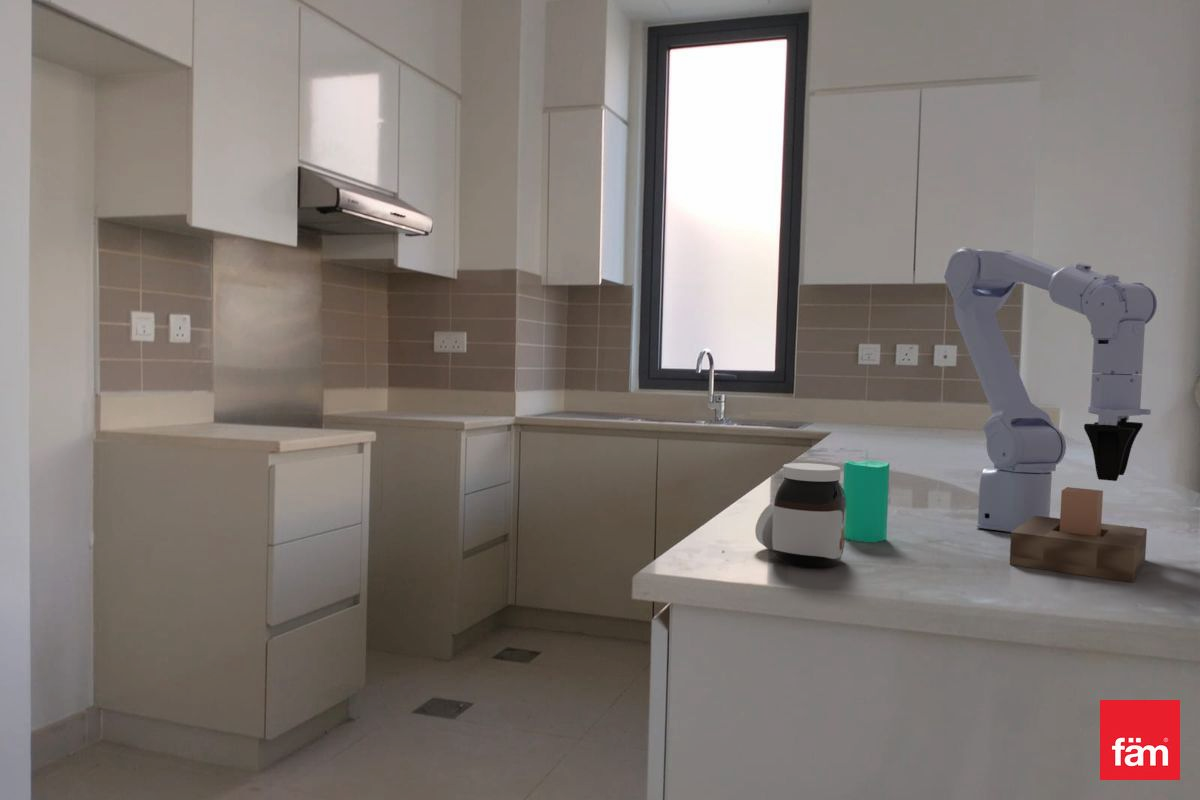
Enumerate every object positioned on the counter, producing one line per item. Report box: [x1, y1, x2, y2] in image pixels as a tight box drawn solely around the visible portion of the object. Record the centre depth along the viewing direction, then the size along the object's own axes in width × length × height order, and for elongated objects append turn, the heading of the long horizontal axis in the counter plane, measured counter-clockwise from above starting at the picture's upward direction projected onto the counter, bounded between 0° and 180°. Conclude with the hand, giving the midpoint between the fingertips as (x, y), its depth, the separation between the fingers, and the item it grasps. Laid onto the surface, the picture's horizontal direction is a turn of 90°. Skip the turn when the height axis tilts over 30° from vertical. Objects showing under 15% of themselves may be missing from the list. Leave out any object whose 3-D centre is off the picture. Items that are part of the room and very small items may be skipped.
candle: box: [842, 451, 890, 543], centre depth 122 cm, size 6×6×12 cm
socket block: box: [1009, 516, 1148, 583], centre depth 110 cm, size 13×15×4 cm
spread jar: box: [754, 462, 846, 569], centre depth 109 cm, size 12×11×12 cm
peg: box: [1059, 486, 1104, 537], centre depth 110 cm, size 4×4×8 cm
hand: (1111, 477), depth 117 cm, fingers open, 7 cm apart
